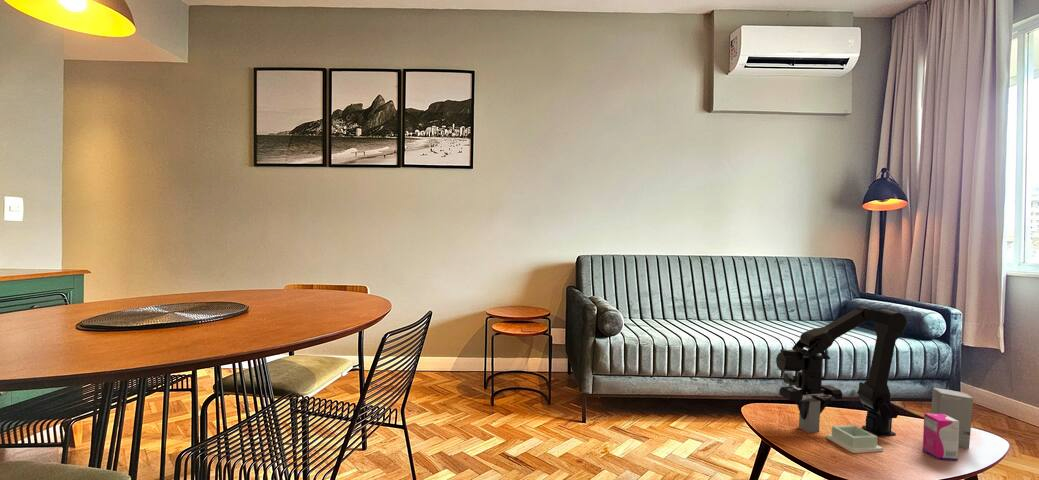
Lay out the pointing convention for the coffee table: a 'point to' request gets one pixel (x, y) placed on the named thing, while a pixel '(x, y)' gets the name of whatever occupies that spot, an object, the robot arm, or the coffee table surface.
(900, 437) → the coffee table surface
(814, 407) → the peg
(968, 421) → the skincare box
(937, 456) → the supplement box
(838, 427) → the socket block
